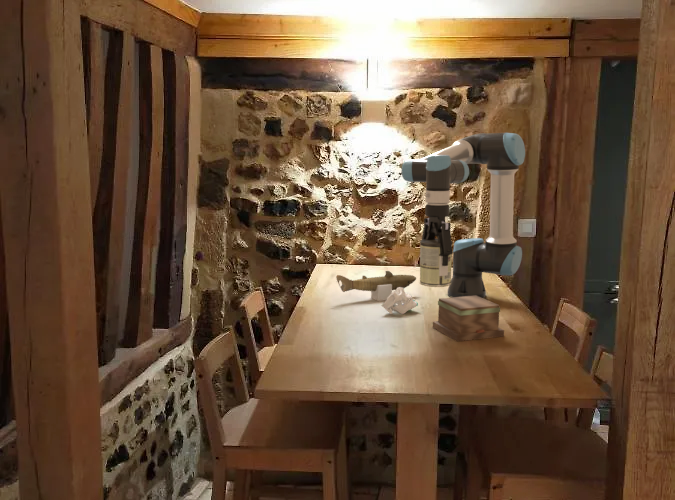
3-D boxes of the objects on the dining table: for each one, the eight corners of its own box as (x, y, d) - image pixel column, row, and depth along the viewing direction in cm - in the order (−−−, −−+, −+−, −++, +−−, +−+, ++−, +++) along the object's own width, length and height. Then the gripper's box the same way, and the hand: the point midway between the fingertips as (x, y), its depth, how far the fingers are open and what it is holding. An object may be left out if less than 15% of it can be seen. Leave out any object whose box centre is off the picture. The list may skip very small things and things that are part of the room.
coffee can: (423, 279, 210) (424, 237, 208) (453, 281, 207) (455, 239, 204) (415, 285, 201) (416, 242, 198) (447, 288, 197) (449, 244, 195)
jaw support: (417, 308, 222) (398, 288, 222) (400, 324, 224) (381, 305, 225) (421, 300, 233) (402, 282, 234) (404, 316, 236) (386, 298, 236)
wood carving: (331, 300, 245) (331, 272, 243) (409, 292, 259) (409, 266, 257) (340, 306, 236) (340, 277, 235) (420, 297, 250) (421, 270, 249)
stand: (476, 322, 215) (478, 294, 213) (503, 336, 200) (505, 305, 198) (432, 327, 209) (433, 298, 208) (457, 341, 194) (458, 310, 193)
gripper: (411, 201, 209) (410, 266, 213) (443, 207, 188) (441, 280, 191) (432, 200, 211) (430, 265, 215) (465, 206, 190) (463, 278, 194)
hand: (435, 272), depth 203 cm, fingers closed on coffee can, 10 cm apart
